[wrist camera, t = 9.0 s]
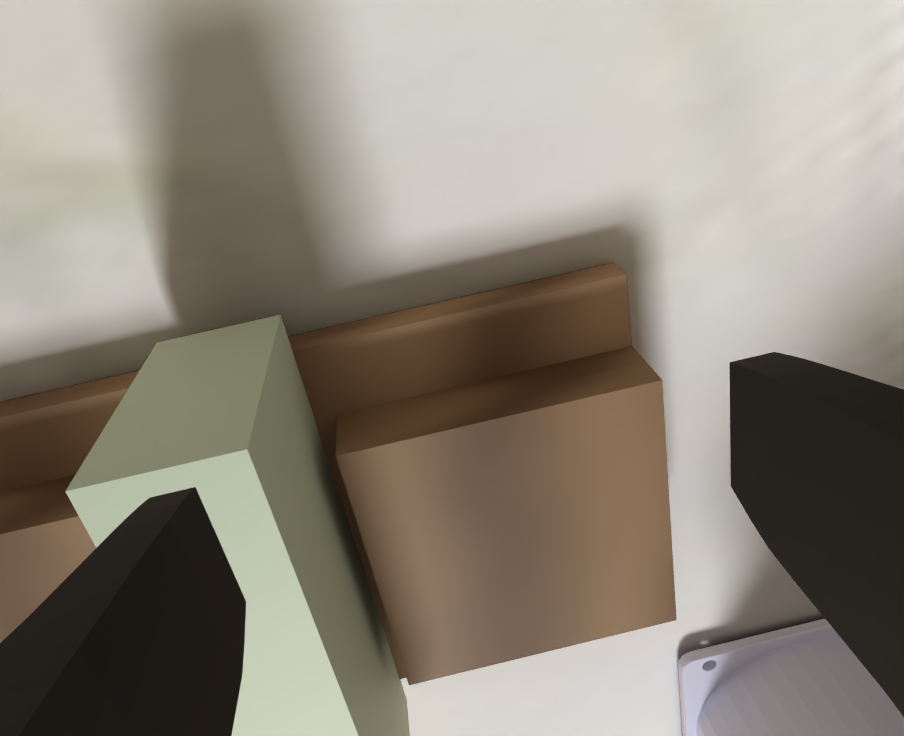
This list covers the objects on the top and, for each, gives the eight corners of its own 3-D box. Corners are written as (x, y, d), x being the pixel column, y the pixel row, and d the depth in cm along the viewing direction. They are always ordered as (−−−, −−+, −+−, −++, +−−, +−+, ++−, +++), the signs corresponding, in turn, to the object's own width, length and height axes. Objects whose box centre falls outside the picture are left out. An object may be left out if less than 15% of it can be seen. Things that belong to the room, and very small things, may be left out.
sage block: (406, 699, 23) (423, 902, 18) (317, 721, 23) (307, 931, 18) (280, 314, 17) (246, 449, 11) (156, 342, 17) (65, 491, 11)
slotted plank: (612, 262, 18) (657, 302, 16) (642, 595, 24) (679, 667, 21) (-150, 435, 18) (-239, 508, 15) (58, 736, 23) (20, 829, 21)
